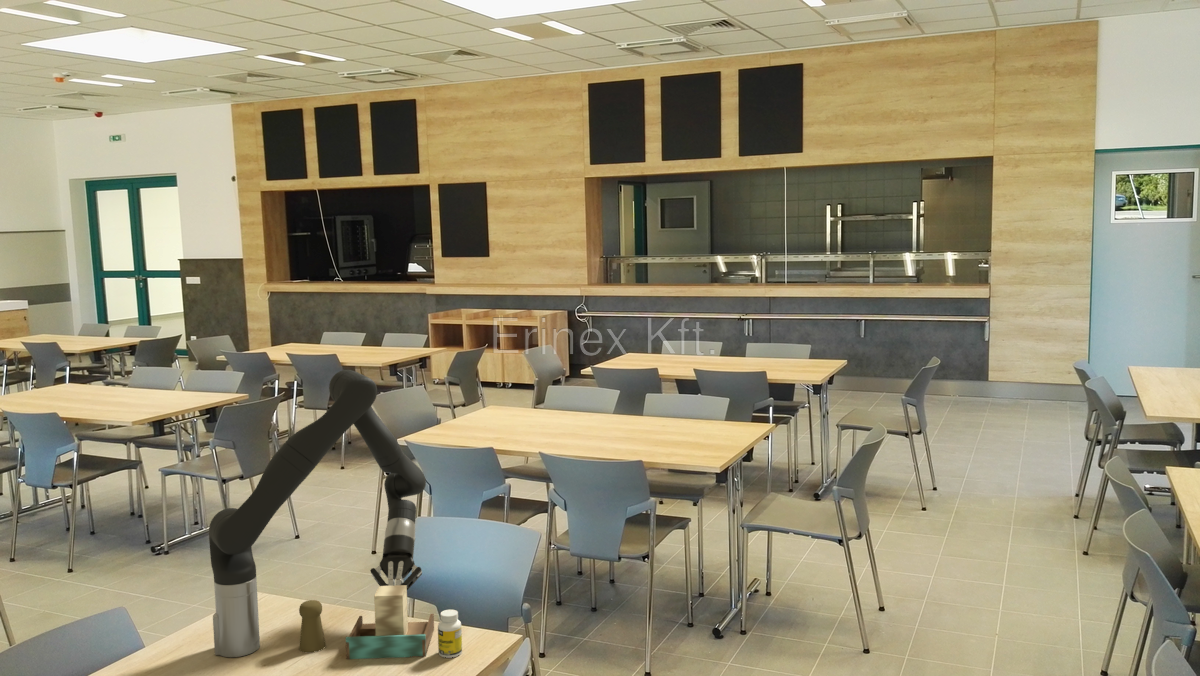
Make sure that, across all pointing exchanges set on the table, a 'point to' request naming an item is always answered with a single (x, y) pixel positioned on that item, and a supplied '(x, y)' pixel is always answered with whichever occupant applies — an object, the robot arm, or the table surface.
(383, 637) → the trap lane
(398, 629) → the maple block
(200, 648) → the table surface
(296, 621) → the table surface
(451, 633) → the supplement bottle
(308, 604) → the olive pawn
